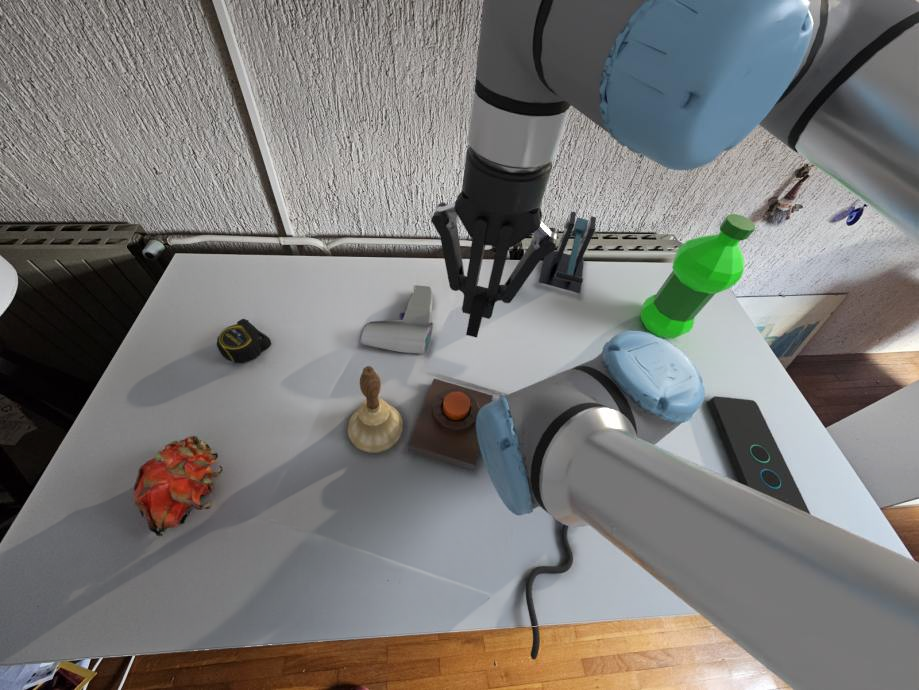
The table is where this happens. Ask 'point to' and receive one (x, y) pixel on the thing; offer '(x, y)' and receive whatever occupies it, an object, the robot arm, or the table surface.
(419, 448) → the control block
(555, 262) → the switch bracket
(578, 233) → the switch lever
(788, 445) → the table surface
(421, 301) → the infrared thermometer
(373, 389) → the hand bell
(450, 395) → the button
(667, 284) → the plastic bottle
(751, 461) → the smart home device
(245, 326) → the tape measure
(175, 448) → the dragon fruit
